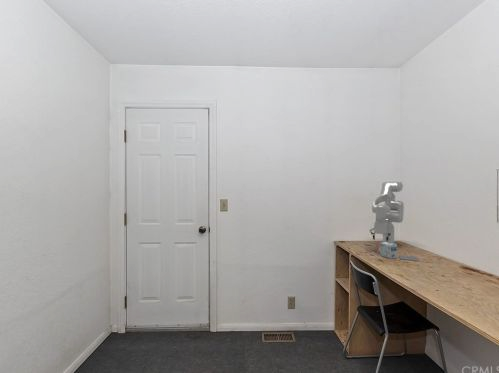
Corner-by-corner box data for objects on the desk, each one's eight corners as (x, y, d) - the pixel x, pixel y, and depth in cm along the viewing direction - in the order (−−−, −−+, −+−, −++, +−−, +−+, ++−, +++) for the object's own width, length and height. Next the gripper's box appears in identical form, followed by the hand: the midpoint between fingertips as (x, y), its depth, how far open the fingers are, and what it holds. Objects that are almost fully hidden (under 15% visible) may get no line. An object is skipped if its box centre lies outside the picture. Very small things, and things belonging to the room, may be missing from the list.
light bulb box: (397, 258, 214) (397, 244, 214) (391, 259, 211) (391, 245, 211) (386, 254, 224) (386, 241, 223) (379, 255, 221) (379, 242, 221)
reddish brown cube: (377, 251, 235) (377, 244, 235) (384, 251, 233) (384, 245, 233) (376, 252, 230) (376, 246, 230) (384, 253, 228) (384, 246, 228)
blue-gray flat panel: (399, 255, 221) (399, 255, 221) (416, 257, 215) (416, 256, 215) (400, 259, 210) (400, 258, 210) (418, 261, 205) (418, 260, 205)
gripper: (392, 220, 231) (391, 240, 231) (369, 219, 238) (369, 238, 238) (392, 221, 224) (392, 242, 224) (369, 220, 232) (369, 240, 232)
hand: (380, 240), depth 231 cm, fingers open, 9 cm apart
